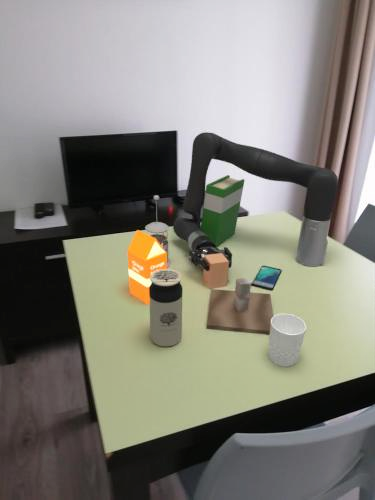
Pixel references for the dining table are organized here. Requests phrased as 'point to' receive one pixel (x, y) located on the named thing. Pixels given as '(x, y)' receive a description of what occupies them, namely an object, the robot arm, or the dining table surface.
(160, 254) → the orange juice
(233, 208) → the hardback book
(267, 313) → the post base
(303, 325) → the white cup
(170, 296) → the travel mug
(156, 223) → the french press
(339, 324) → the dining table surface
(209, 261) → the tall peach pillar
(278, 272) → the smartphone
